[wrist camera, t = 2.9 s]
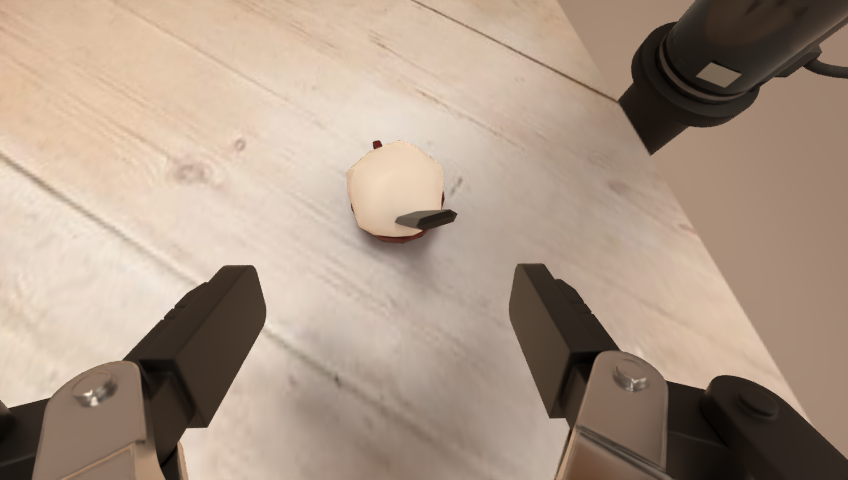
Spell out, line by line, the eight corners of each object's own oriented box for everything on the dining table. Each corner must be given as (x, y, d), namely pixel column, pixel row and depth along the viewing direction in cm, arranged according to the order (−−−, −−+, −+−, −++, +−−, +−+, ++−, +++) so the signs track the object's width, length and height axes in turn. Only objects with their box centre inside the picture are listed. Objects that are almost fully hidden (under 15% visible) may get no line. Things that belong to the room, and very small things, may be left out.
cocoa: (363, 162, 26) (327, 24, 15) (440, 166, 26) (465, 34, 15) (351, 279, 24) (296, 221, 12) (438, 283, 24) (466, 230, 12)
